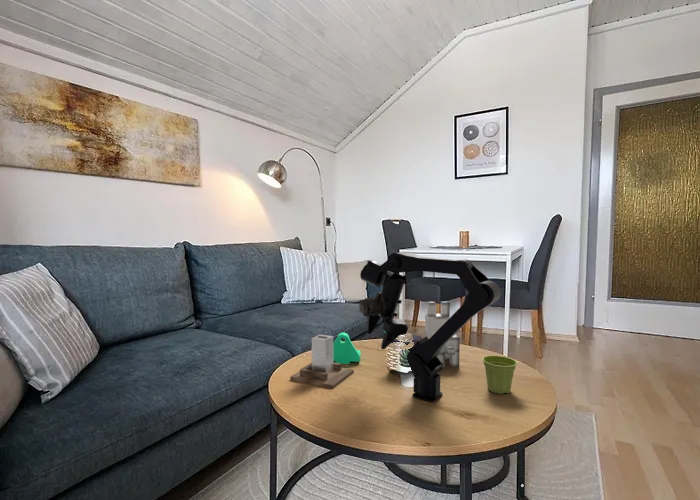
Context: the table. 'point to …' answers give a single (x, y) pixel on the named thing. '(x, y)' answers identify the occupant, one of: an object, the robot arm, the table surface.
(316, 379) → the cradle
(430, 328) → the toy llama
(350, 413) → the table surface
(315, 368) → the block
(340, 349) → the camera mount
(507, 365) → the plant pot
